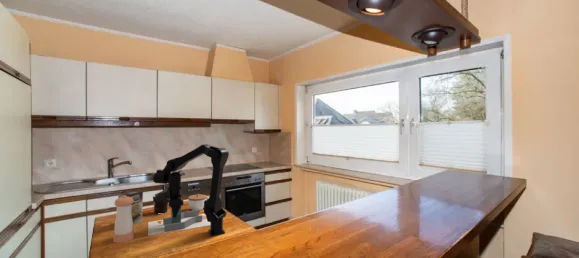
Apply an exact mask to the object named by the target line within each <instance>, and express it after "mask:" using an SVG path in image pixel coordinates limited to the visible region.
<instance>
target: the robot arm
mask: <svg viewBox="0 0 579 258" xmlns="http://www.w3.org/2000/svg"><path fill="white" fill-rule="evenodd" d="M202 155H205V156H206V157H209V158H210V162H211V165H212V172H211V173H212V174H211V181H210V190H209V196H208V198H207V200H205V201H204V208H203V209H202V210H203V214H205V215H206V218H207V221H208V222H210V226H209V228H210V229H208V230H207V231H208V233H209V235H210V236H216V235H217V236H218V235H222V234H225V233H226V231H225V230H224V218H225V217H226V215H227V212H226V210H225V209H224V208H223V202H222V199H221V189H222V183H223V175H224V168H225V166H226V164H227V162H228V158H229V155H230V153H229V151H228V150H227V148H224V147H222V148H220V147H216V146H213V145H209V144H208V143H207V144H201V145H199V146H197V147H196V148H194V149H193V150H191V151H189V152H187V153H185V154H183V155H182V156H179V157H178V156H177V157H175V158H170V159H168V161H166V165H165V166H164V167H163V169H157V170H156V172H155V173H154V175H153V176H152V177H153V178H152V179H153V182H154V183H155V184H161V185H168V186H167V189H164V190H162V191H159V192H157V193H155V194H154V195H155V197H156V200H157V202H160V201H161V200H163V199H166V198H167V199H169V200H167V202H168V208H170V209H171V208H172V213H173V217H174V218H175V217H176V216H177V214H178V211H179V209H180V207H181V208H182V206H184V200H183V197H182V177H183V176H185V175H186V173H185V172H184V171H183V169H184V168H185V167H186V166H187V165H188V163H190V162H191V161H194V160H195V159H197V158H199V157H201V156H202Z"/></svg>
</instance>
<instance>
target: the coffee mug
mask: <svg viewBox="0 0 579 258" xmlns="http://www.w3.org/2000/svg"><path fill="white" fill-rule="evenodd" d="M167 200H169V199H167V198H166V199H163V200H161V201H160V202H157V200H156V197H155V194H153V195H152V203H153V211H154V214H155V213H156V214H155V215H159V214H158V213H164V214H166V213H167V212H168V208H169V206H168V202H167ZM165 212H166V213H165Z"/></svg>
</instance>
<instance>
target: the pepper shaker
mask: <svg viewBox="0 0 579 258" xmlns="http://www.w3.org/2000/svg"><path fill="white" fill-rule="evenodd" d="M133 202H134V200H133V198H132V197H127V196H126V195H124V196H122V197H120V198H117V199H116V200H114V206H115V207H116V212H115V213H116V215H115V216H116V217H115V221H114V232H113V233H112V234H113V240H112V241H113V243H118V244H121V243H126V242H129V241H132V240H133V239H134V229H133V227H134V225H133V221H132V214H131V210H132V205H131V204H133Z"/></svg>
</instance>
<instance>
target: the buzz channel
mask: <svg viewBox="0 0 579 258" xmlns="http://www.w3.org/2000/svg"><path fill="white" fill-rule="evenodd" d="M199 213H200V211H199V210H194V211H193V210H187V211H183V212H182V211H181V222H180V223H173V224H171V216H170V217H164V218H163V219H160V220H152V221H148V227H147V228H148V231H147V232H148V233H147V235H148V236H154V235H160V234H165V233H166V234H167V233H172V232H178V231H184V230H189V229H196V228H207V227H210V222H208V221H207V218H206V215H205V214H204V213H201V214H199ZM158 221H162V222H161V224H159V223H157V222H158Z"/></svg>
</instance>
